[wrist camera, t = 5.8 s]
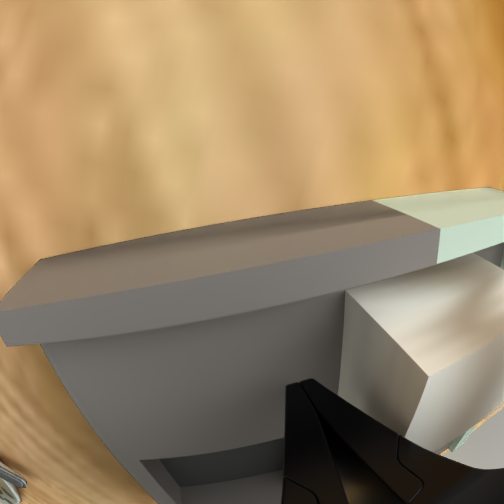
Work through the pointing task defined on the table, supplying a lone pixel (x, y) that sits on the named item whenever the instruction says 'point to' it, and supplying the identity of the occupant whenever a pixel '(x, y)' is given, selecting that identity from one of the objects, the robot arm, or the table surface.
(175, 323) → the box
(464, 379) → the cream block
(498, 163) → the table surface
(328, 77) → the table surface
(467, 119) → the table surface
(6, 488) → the salad plate
